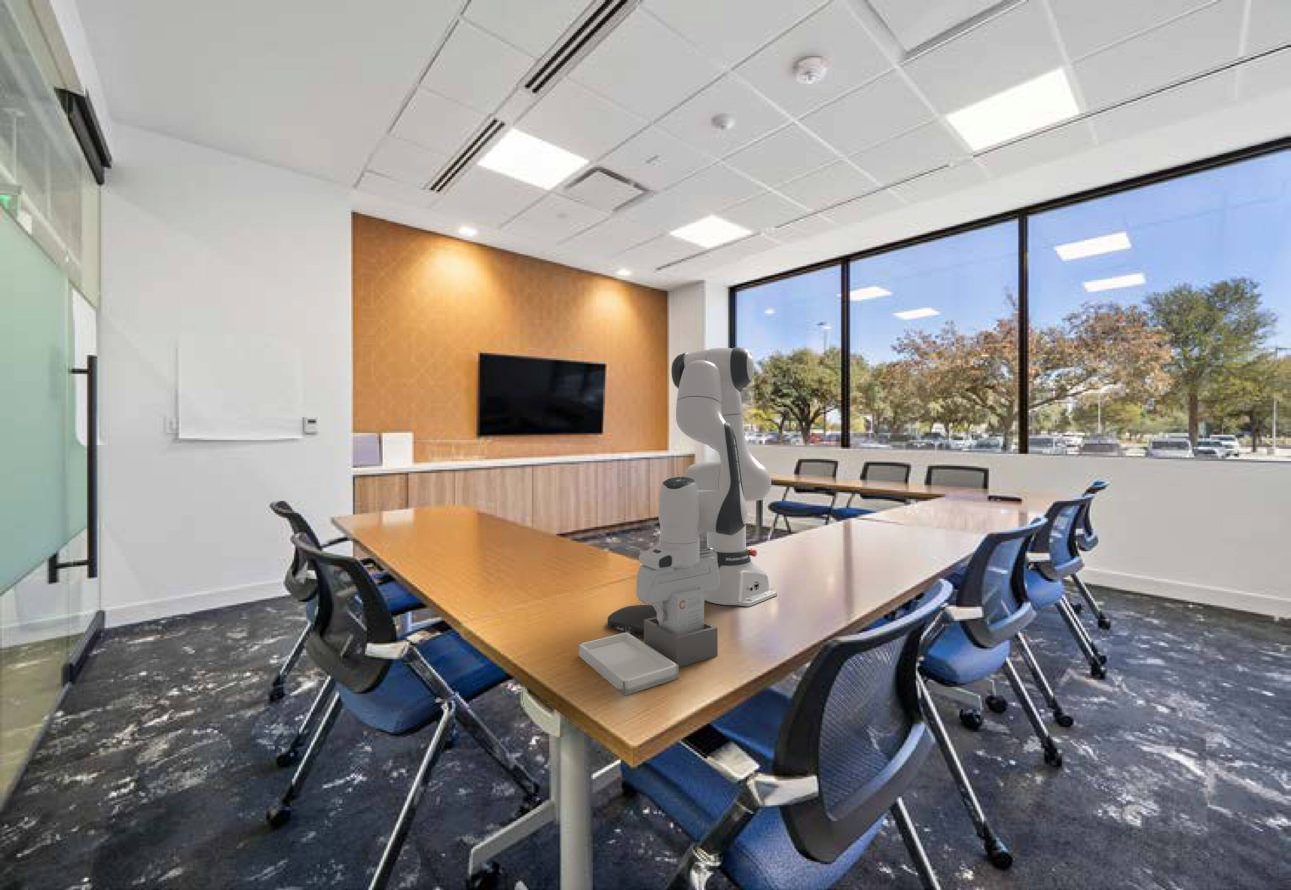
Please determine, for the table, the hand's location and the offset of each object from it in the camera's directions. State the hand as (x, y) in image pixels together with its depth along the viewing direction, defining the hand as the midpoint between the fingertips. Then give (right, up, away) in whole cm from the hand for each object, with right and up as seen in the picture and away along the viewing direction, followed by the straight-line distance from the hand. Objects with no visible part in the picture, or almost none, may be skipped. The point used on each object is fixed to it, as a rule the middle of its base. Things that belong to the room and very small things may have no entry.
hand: (680, 615), depth 111 cm
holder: (0, -8, 0) cm, 8 cm away
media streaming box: (-8, -8, +16) cm, 20 cm away
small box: (0, -7, 0) cm, 7 cm away
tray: (-12, -8, -7) cm, 16 cm away
